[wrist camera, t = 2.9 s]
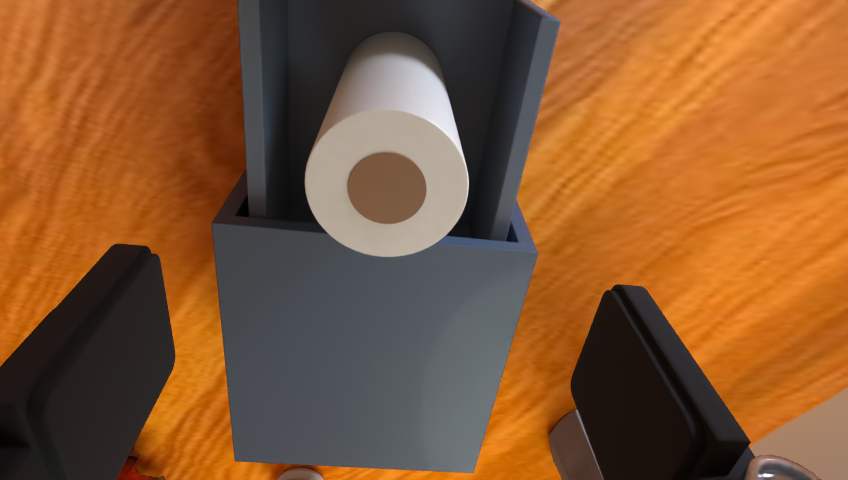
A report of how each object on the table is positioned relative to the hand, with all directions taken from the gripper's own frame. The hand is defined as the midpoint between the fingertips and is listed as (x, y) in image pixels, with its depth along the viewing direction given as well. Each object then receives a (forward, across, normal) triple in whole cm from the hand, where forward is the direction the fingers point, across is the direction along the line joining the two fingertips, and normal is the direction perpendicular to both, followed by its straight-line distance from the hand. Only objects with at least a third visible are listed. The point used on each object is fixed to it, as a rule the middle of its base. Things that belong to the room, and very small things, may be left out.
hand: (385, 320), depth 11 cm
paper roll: (+18, 0, 0) cm, 18 cm away
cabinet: (+20, 0, +13) cm, 24 cm away
